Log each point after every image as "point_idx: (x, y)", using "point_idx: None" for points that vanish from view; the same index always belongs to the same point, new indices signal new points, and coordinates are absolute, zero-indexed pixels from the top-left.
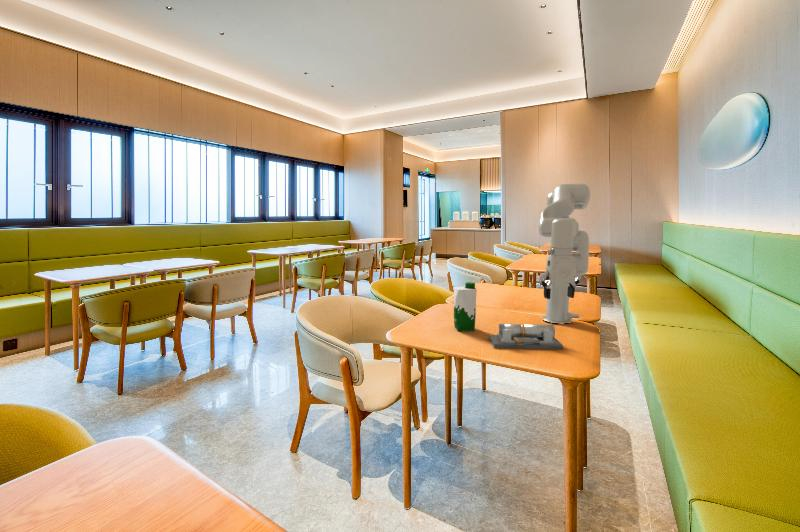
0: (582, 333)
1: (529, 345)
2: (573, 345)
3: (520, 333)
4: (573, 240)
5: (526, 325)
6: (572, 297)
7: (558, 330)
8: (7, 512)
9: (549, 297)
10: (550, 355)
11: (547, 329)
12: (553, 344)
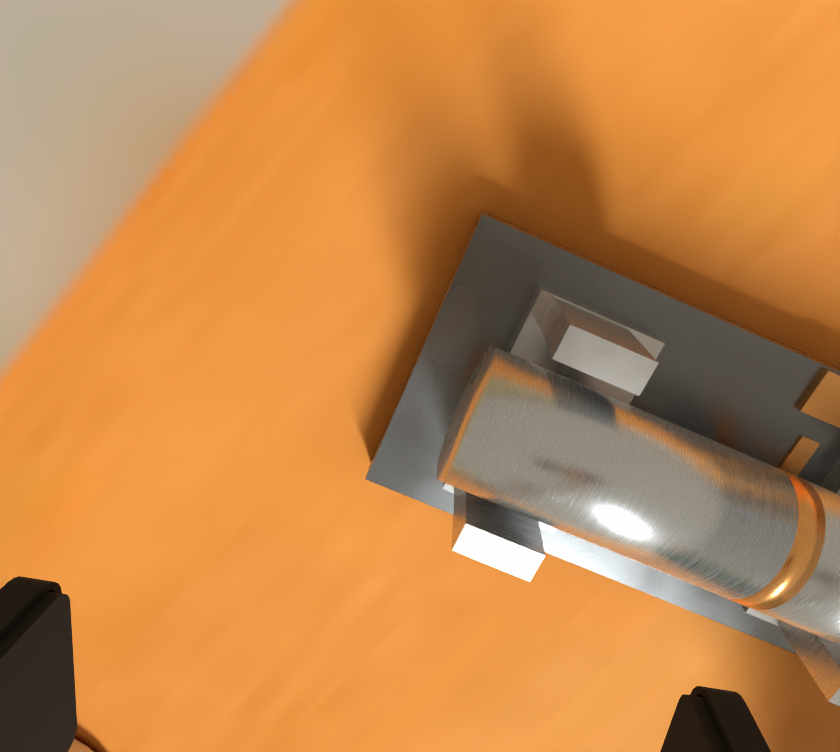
0: (13, 510)
1: (772, 342)
2: (302, 280)
3: (821, 488)
4: None
5: (764, 543)
6: (47, 590)
7: (160, 630)
8: None
9: (732, 717)
10: (719, 112)
11: (569, 405)
12: (545, 279)
